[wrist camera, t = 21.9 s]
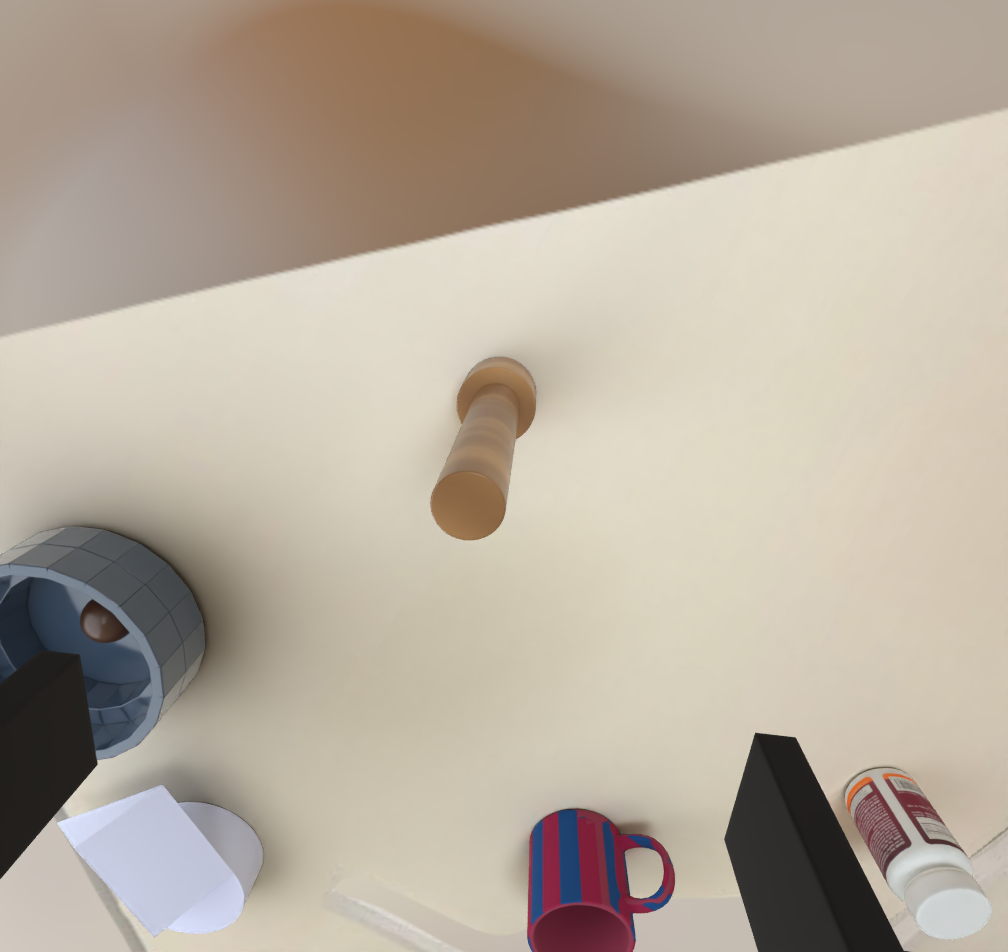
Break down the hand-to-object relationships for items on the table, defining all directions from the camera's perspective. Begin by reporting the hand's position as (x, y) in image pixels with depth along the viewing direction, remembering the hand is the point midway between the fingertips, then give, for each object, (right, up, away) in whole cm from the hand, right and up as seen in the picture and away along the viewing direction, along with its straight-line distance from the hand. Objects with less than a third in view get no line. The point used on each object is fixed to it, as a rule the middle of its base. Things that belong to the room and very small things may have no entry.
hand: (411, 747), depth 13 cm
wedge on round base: (-22, -21, +36) cm, 47 cm away
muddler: (+2, +10, +23) cm, 25 cm away
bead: (-22, -3, +27) cm, 35 cm away
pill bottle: (+27, -16, +31) cm, 44 cm away
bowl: (-24, -4, +29) cm, 38 cm away
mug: (+9, -20, +34) cm, 40 cm away
